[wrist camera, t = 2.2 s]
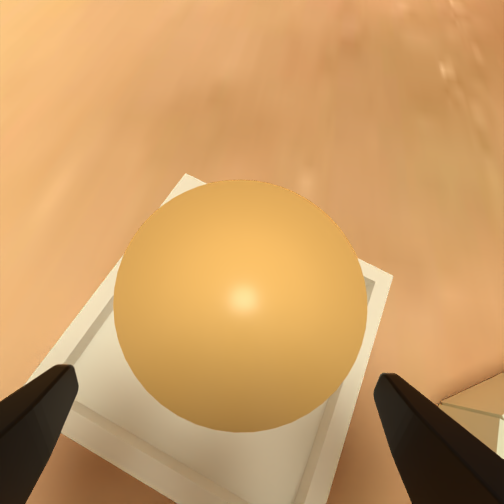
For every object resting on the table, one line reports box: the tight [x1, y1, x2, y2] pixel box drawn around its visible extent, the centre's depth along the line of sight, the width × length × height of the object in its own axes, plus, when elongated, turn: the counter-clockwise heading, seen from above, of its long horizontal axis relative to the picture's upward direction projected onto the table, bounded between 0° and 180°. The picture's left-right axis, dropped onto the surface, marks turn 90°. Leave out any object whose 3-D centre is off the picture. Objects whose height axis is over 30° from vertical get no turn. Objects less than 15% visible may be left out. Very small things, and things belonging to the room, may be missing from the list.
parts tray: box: [25, 173, 393, 504], centre depth 16 cm, size 16×16×2 cm
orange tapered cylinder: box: [113, 180, 367, 433], centre depth 11 cm, size 5×5×12 cm
